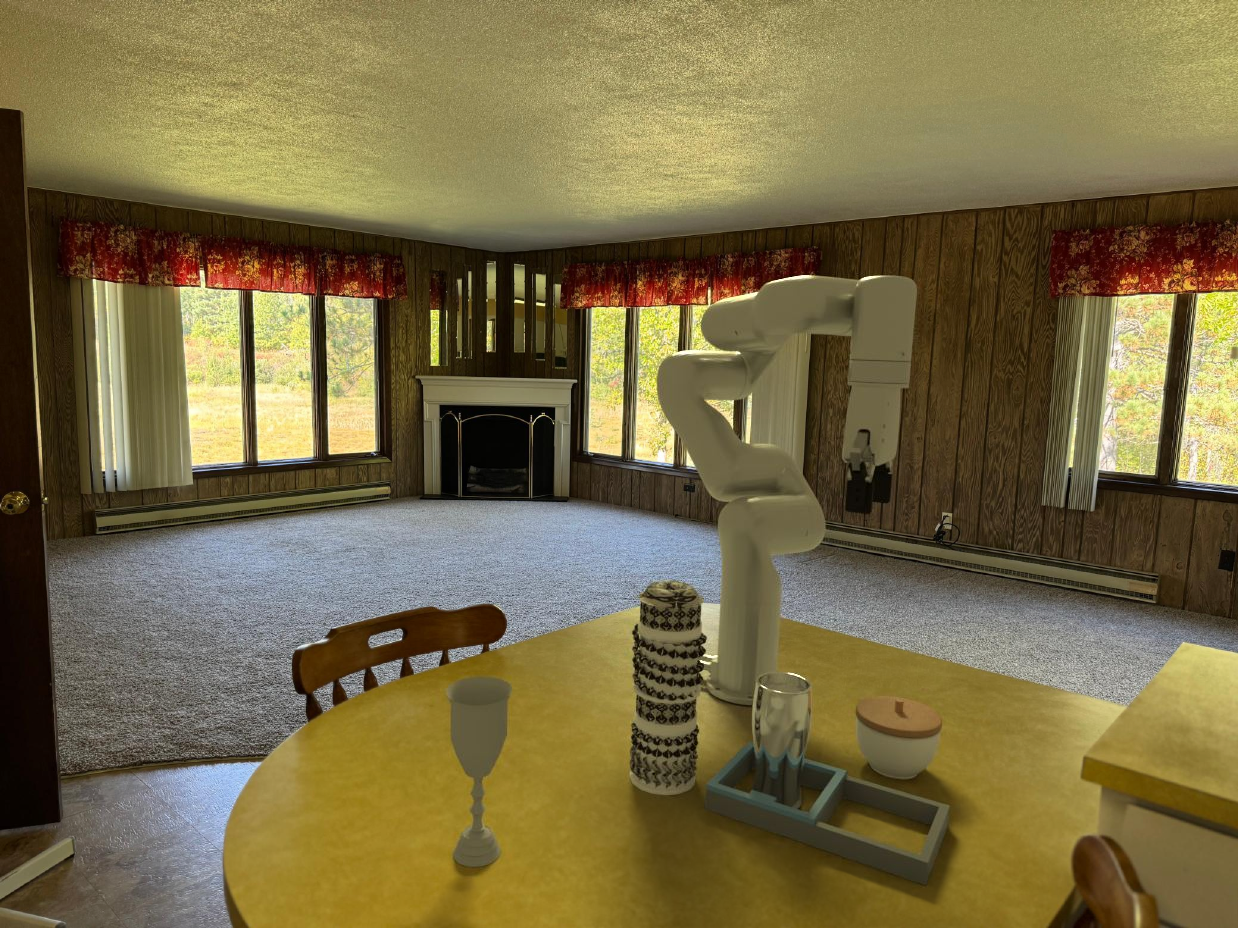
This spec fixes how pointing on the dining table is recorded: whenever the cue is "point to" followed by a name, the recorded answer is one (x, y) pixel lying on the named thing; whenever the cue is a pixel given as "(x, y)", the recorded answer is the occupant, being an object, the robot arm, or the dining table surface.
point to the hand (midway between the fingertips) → (868, 507)
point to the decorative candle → (666, 688)
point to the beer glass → (781, 734)
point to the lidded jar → (897, 735)
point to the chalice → (478, 755)
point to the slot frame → (813, 824)
